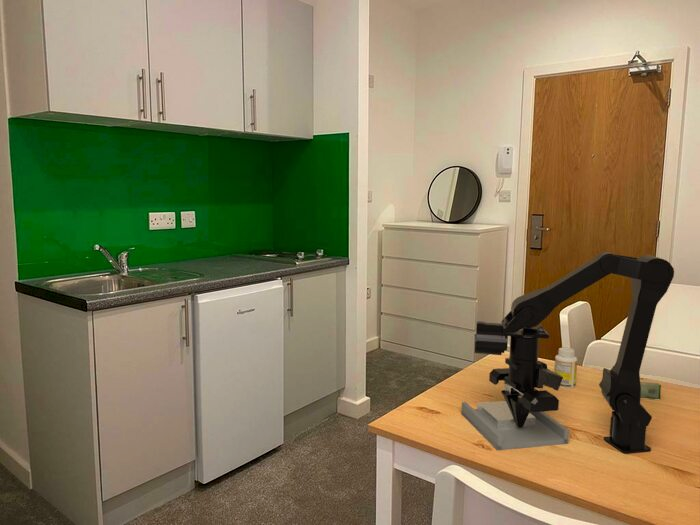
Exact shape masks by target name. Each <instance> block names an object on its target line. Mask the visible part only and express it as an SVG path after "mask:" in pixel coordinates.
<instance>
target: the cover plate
mask: <svg viewBox="0 0 700 525" xmlns="http://www.w3.org/2000/svg"><path fill="white" fill-rule="evenodd" d="M476 409H477V411H478V412H479V413H480V414H481V415H482V416H483V417H484V418H485V419H487V420H488V421H489V422H490V423H491V424H492V425H493V426H494V427H495V428H496V429H507V428H519V427H517V426H516V424H515V421H514V419H513V416H512V414H511V411H510V409H509V407H508V404H507V402H506V400H500V401H497V400H496V401H485V402H483V401H482V402H477V407H476ZM535 420H536V417H534V416H533V415H532V414H530V413H529V414H528V417H527V419H526V421H525V423H524V425H523V427H531V426H535Z"/></svg>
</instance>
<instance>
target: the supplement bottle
mask: <svg viewBox="0 0 700 525" xmlns="http://www.w3.org/2000/svg"><path fill="white" fill-rule="evenodd" d="M575 351H576V350H575V349H573V348H571V347H559V348H558V354H556V355H555V357H554V371H553V372H555V373H557V374H559V375H560V376H562V377H563V379H562V382H561V384H560V387H559V388H563V389H574V388H576V386H577V385H576V384H577V369H578V368H577V367H578V357H576V356H575V353H576V352H575Z"/></svg>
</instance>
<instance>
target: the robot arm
mask: <svg viewBox="0 0 700 525" xmlns="http://www.w3.org/2000/svg"><path fill="white" fill-rule="evenodd" d="M611 274H612V275H619V276H622V277H626V278H630V288H631V302H630V306H629V310H628V313H627V317H626V322H625V326H624V330H623V333H622V337H621V341H620V345H619V350H618V354H617V357H616V361H615V363H614V365H613V366H612V368H610V369H609V368H605V367H603V370H602V377H601V378H602V379H601V380H600V382H599V383H598V386H599V388H600V389H601V395H602V397H603V398H604V399H605V401H606V402H607V404H608V405H609V407H610V408H611V410H612V411H611V417H610V424H609V425H610V426H609V436H603V441H605V442H606V443H608V444H609V445H611V446H613V447H614V448H615V449H616V450H618V451H620V452H621V453H623V454H630V453H641V452H642V453H643V452H651V451H652V448H651V447H650V446H649V445H647V444H646V434H647V427H648V426H649V424H650V422H651V421H652V418H653V417H652V415H651V414H650V413H649V412H648V410H646V408H645V407H644V405H642V403H641V384H640V382H641V378H640V377H641V376H640V370H641V366H642V364H643V359H644V356H645V351H646V348H647V344H648V339H649V335H650V333H651V332H650V331H651V328H652V325H653V321H654V317H655V314H656V309H657V306H658V304H659V303H660V301H661V300H662V298H663V297H664V296H665V295H666V294H667V293H668V289H669V288H670V286H671V284H672V281H673V280H674V277H675V268H674V266H672V264H671V263H670V262H669V261H667V260H666V259H663V258H660V257H658V256H654V255H651V254H646V255H641V256H639V257H634V256H627V255H622V254H621V255H620V254H614V253H611V252H608V251H602V252H600V253H599V252H598V254H596V256H595V257H593V258H592V259H590V260H588V261H586V263H584V264H582V265H580V266H579V267H577V268H576V269H574V270H572V271H571V272H569V273H568V274H566V275H563V277H561V278H559V279H558V280H556V281H554V282H553V283H551V284H549V285H548V286H545V287H543V288H539V289H536V290H533V291H530V292H528V293H525V294H523V295H520V296H518V297H516V298H515V299H514V300H513V301H512V302H511V305H510V306H511V308H510V310H509V312H508V313H507V314H506V315H505V317H504V318H502V320H501V321H500V323H496V322H495V323H494V322H486V321H482V320H481V321H480V320H479V321H476V323H475V324H476V327H475V333H474V344H473V346H474V347H473V348H474V349H473V350H474V351H473V353H474V354H478V355H479V354H480V355H482V354H483V355H492V356H493V355H494V356H495V355H496V356H502V354H505V351H508V341H509V340H510V341H509V357H506V358H505V364H506V365H508V367H507V368H505V367H503V368H502V367H501V368H493V369H492V370H491V371H490V372H489V376H488V377H489V378H488V379H489V381H488V382H490V383H492V384H493V385H494V386H496V385H498V384H499V382H500V381H503V385H504V390H501V395H503V397H504V399H505V400H504V401H506V402H507V404H508V407H509V409H510V411H511V414H512V416H513V419H514V421H515V424H516V426H517V427H519V428H521V427H523V425H524V423H525V421H526V419H527V417H528V414H529V412H530V411H531V412H545V413H546V412H556V411H559V409H560V408H559V407H560V400H559V399H558V397H557V396H556V395H554V394H553V393H551V392H549V391H547V390H544V389H543V388H544V386H545V387H547V388H551V389H553V390H554V391H557V392H558V391H559V389H560V388H561V387H560V384H561V382H562V379H563V377H562V376H560V375H559V374H557V373H555V372H554V371H553V370H551V369H549V368H548V364H547V363H545V362H543V361H540V360H539V349H540V348H539V346H540V345H539V343H540V341H539V340H540V339H546V340H548V339H549V338H550V334H549V333H548V332H547V330H546V329H544V327H543V325H542V324H541V322H543V320H545V319H546V318H547V317H549V315H551V313H553V311H554V310H555V308H557V307H558V306H559V305H560V304H562V303H564V302H565V301H567V300H569V299H570V298H572V297H573V296H575V295H577V294H578V293H580V292H581V291H585V289H587V288H589V287H590V286H592V285H594V284H595V283H598V282H599V281H600V280H602V279H603V278H605V277H607V276H609V275H611ZM509 337H510V339H509V340H508V338H509ZM536 388H537V389H536ZM538 389H543V390H538Z"/></svg>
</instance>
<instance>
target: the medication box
mask: <svg viewBox="0 0 700 525" xmlns="http://www.w3.org/2000/svg"><path fill="white" fill-rule="evenodd" d="M640 384H641V398H650V399H649V400H655V399H660V400H661V395H662V394H661V393H662V392H661V391H662V385H661V384H660V383H657V382H648V381H640ZM641 398H640V399H641Z"/></svg>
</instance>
